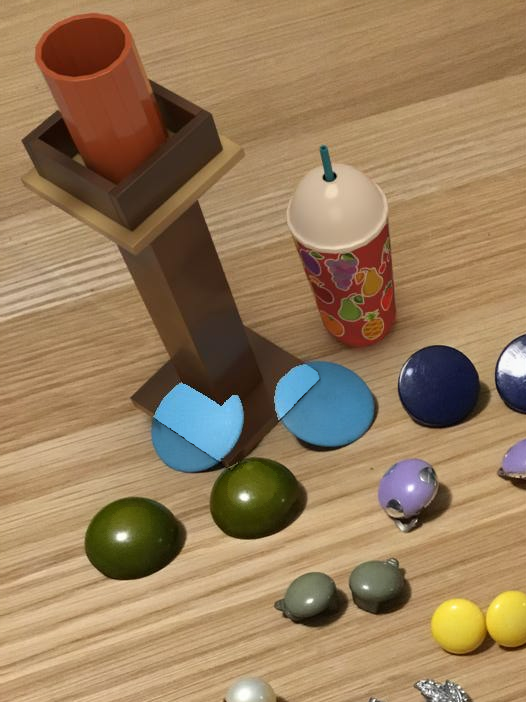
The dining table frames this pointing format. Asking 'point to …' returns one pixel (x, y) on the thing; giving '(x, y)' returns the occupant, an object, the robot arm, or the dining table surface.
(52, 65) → the cup
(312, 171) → the smoothie
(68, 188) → the holder
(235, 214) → the dining table surface
